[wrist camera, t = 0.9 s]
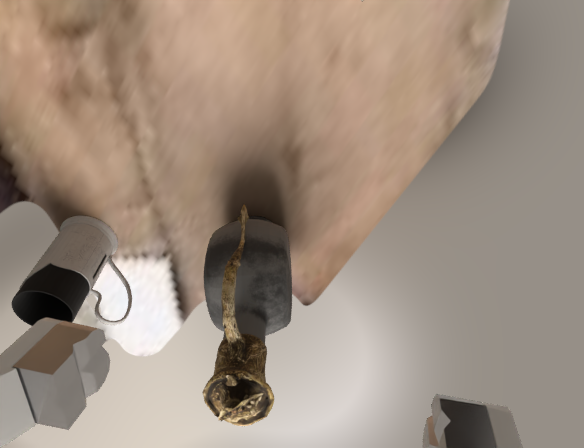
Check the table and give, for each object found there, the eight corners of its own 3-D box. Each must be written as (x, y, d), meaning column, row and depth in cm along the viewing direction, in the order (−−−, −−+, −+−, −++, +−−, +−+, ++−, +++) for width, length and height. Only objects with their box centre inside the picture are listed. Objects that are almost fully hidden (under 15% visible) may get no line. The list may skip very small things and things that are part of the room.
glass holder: (66, 206, 62) (11, 277, 50) (158, 243, 66) (128, 316, 54) (54, 246, 67) (1, 320, 54) (142, 278, 71) (111, 353, 59)
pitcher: (229, 274, 70) (194, 463, 46) (208, 174, 59) (149, 356, 34) (294, 271, 69) (294, 461, 45) (286, 170, 58) (281, 352, 34)
